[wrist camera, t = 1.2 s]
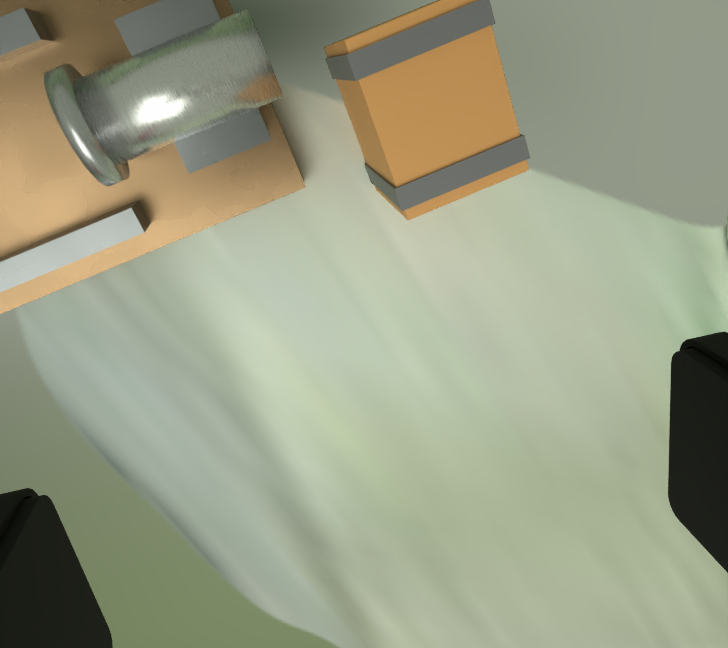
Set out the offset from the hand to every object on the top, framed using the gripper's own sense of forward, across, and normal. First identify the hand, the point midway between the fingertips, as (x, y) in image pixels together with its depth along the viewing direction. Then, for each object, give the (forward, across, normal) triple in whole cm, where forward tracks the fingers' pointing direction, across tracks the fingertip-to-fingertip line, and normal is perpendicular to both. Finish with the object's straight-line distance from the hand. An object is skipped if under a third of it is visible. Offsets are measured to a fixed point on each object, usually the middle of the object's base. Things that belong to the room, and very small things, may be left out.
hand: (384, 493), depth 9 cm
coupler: (+19, -5, -4) cm, 20 cm away
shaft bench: (+19, +10, -4) cm, 22 cm away
